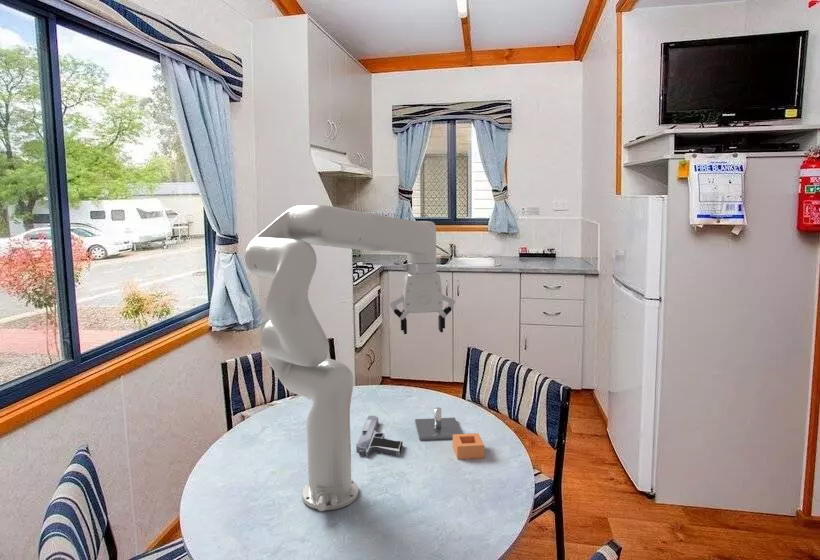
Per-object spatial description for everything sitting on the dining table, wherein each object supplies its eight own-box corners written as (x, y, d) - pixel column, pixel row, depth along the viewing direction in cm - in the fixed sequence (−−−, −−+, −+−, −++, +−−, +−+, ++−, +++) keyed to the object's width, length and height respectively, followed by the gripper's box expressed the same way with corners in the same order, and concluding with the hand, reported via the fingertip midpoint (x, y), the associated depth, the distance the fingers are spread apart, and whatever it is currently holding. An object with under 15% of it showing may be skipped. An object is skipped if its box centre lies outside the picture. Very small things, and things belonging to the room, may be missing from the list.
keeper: (462, 438, 148) (462, 416, 147) (419, 440, 147) (419, 418, 146) (454, 420, 160) (454, 400, 159) (415, 422, 158) (415, 401, 157)
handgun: (407, 416, 158) (367, 415, 159) (399, 452, 136) (353, 450, 137) (407, 424, 158) (367, 422, 160) (399, 461, 136) (353, 459, 137)
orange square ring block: (484, 457, 137) (484, 445, 136) (457, 459, 136) (457, 446, 136) (478, 445, 144) (478, 433, 143) (452, 446, 143) (452, 434, 142)
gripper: (390, 272, 134) (391, 337, 137) (457, 269, 136) (457, 334, 139) (387, 267, 141) (389, 330, 144) (451, 265, 143) (452, 326, 146)
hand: (422, 332), depth 141 cm, fingers open, 9 cm apart
